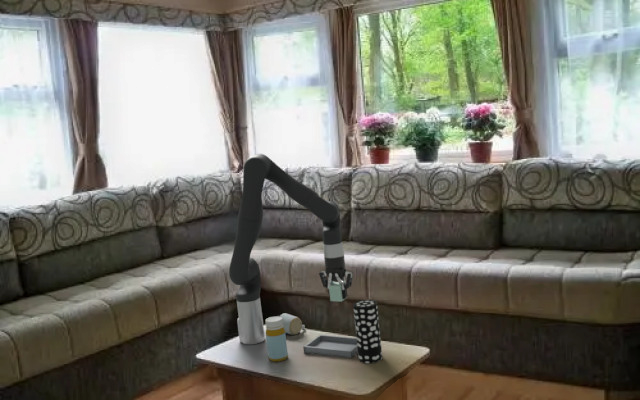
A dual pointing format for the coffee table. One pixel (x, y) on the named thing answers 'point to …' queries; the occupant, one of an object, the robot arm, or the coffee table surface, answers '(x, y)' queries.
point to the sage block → (335, 292)
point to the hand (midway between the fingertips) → (338, 298)
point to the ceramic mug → (291, 324)
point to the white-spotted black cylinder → (367, 331)
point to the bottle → (276, 339)
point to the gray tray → (332, 346)
